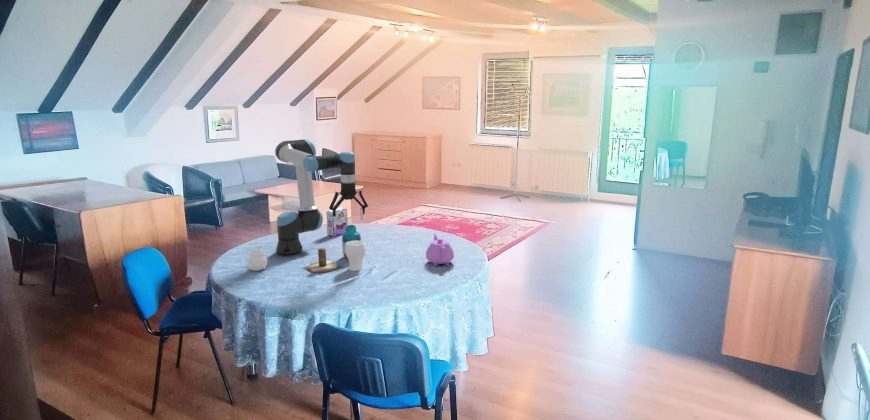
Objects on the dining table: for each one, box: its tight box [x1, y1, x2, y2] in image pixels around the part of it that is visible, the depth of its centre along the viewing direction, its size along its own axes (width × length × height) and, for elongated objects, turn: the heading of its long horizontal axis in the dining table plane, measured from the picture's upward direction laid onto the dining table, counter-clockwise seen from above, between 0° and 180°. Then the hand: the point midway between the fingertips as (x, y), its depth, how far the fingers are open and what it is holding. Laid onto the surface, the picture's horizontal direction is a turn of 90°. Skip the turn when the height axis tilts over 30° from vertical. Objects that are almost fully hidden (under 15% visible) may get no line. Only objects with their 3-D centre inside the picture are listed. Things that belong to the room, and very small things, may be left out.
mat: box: [301, 264, 345, 276], centre depth 284 cm, size 16×16×1 cm
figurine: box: [246, 246, 268, 272], centre depth 282 cm, size 10×10×12 cm
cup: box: [345, 240, 366, 272], centre depth 282 cm, size 11×11×15 cm
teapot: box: [425, 233, 455, 267], centre depth 295 cm, size 22×16×14 cm
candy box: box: [326, 206, 349, 237], centre depth 349 cm, size 14×6×16 cm, turn 147°
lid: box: [307, 247, 338, 273], centre depth 283 cm, size 15×15×10 cm
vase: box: [341, 224, 362, 260], centre depth 300 cm, size 11×11×19 cm
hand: (349, 221), depth 283 cm, fingers open, 13 cm apart
